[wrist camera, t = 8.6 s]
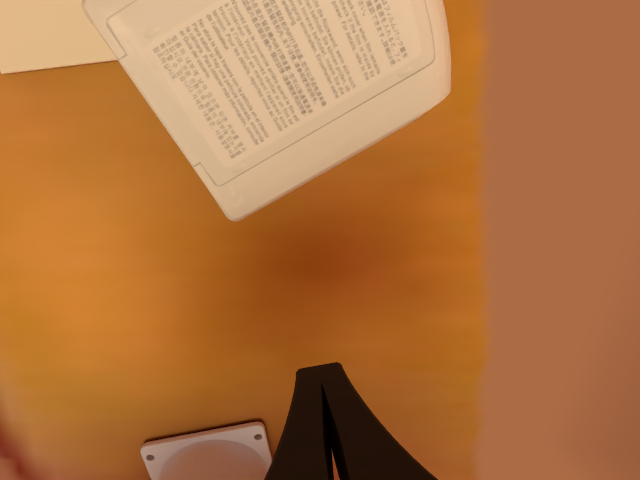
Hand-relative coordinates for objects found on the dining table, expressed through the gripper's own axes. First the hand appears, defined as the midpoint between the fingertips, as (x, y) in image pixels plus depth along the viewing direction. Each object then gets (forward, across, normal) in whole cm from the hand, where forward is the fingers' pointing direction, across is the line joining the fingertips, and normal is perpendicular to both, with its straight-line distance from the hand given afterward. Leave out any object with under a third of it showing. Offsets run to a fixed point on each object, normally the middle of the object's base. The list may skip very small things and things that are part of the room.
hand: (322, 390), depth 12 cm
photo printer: (+8, +5, -8) cm, 12 cm away
